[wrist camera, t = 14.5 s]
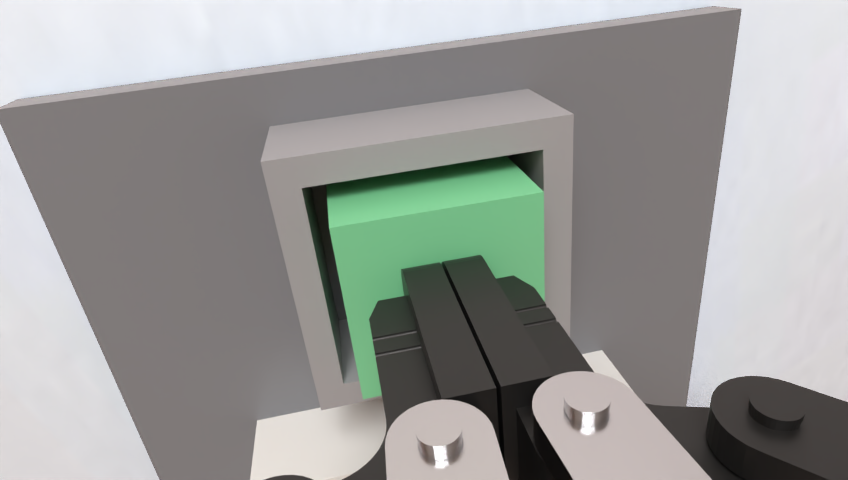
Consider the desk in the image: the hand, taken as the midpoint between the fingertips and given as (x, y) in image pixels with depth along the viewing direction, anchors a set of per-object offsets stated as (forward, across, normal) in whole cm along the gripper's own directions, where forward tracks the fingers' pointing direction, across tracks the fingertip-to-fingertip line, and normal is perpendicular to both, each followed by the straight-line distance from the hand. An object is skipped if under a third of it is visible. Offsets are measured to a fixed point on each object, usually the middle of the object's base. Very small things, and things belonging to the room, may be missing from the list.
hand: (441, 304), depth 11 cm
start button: (+3, 0, 0) cm, 3 cm away
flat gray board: (+5, 0, +6) cm, 7 cm away
